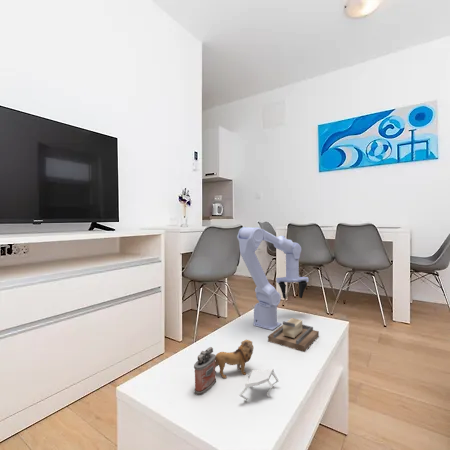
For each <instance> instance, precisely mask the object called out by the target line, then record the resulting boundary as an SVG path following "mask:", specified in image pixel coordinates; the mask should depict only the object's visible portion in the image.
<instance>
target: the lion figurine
mask: <svg viewBox="0 0 450 450" xmlns="http://www.w3.org/2000/svg"><path fill="white" fill-rule="evenodd" d="M240 343H241V344H240V346H238V348H237V349H236V350H235V351H232V352H231V351H230V352H226V351H219V352H217V353H216V354H215V355H216V359H215V369H216V368H217V367H219V374H220V376H221V377H222V378H223V379H227V378H228V377H227V374H224V369H225V367H226V364H227V365H229V366H236V370H237V371H238V372H239V371H240V372H241V375H243V376H245V375H246V374H247V371H245V369H246V368H245V367H246V364H247V362H249V361H251V358H252V356H253V353H254V345H253V341H251V340H250V339H245V340H242V341H241V342H240ZM216 374H217V371H216V370H215V375H216Z"/></svg>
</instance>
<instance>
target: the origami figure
mask: <svg viewBox="0 0 450 450" xmlns="http://www.w3.org/2000/svg"><path fill="white" fill-rule="evenodd" d="M274 371H275V370H274V368H273V369H272V368H271V369H258V370H257V369H256V370H254V369H251V372H250V373H249V374H248V375H247V378H248V381H247V382H246V383H245V387H244V388H243V390H242V392H240V394H238V395H239V397H241V398H243V399H244V400H243V402H246V401H248V400H249V398H248V397H246V396H244V395H243V394H244V393H245V392H246V391H247V389H249V387H250V388H254V387H255V386H260V385H262V384H265V383H266V382H267V384H268V385H269V389H268V391H267V393H266V395H267V398H270V393H269V392H270V391H271V390H272V389H276V387H275V386H274V385H276V384H277V383H278V382H279V381H280V380H279V378H278V376H277V375H276V373H275V372H274ZM272 376H273V378H274V379H275V382H273V383H272V382H271V381H270V379H271V377H272Z"/></svg>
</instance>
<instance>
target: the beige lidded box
mask: <svg viewBox="0 0 450 450" xmlns="http://www.w3.org/2000/svg"><path fill="white" fill-rule="evenodd" d="M282 325H283V335H284V336H288V337H292V338H295V337H296V336H297V335H298V334H299V333H301V332H302V325H303V320H302V319H299V318H292V317H291V318H289V320H287V321H285V320H284V321H282Z"/></svg>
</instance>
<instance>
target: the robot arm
mask: <svg viewBox="0 0 450 450" xmlns="http://www.w3.org/2000/svg"><path fill="white" fill-rule="evenodd" d="M237 233H238V234H237V236H236V239H237V240H238V241H237V242H238V243H239V245H238V246H239V253H240V256H241V258H242V260H243V262H244V264H245V266H246V268H247V270H248V272H249V274H250V276H251V279H252V280H253V282H254V284H255V286H256V287H254V288H255V289H254V291H255V297H256V300H257V301H258V302H256V303H255V305H254V308H253V324H252V325H253V326H255V327H259V328H263V329H267V330H270V331H273V330H274V331H275V329H276V328H277V327H278V328H279V326H281V325H282V323H281V322H278V307H279V305H280V302H281V300H282V299H281V298H283V299H284V300H286V298H287V295H286V292H287V291H286V290H287V284H286V283H298V296H299V298H300V299H303V296H304V291H305V289H306V287H307V286H308V283H309V280H310V279H309V277H307V276H300V273H299V272H300V270H299V269H300V268H299V267H300V266H299V265H300V263H299V262H300V261H299V260H300V258H301V253H302V249H303V248H302V247H301V245H300V243H298V242H295V241H294V242H293V239H288V238H286V236H285V235H279V236H276V235H274V234H273V233H270V232H269V231H267V230H265V229H264V228H261V227H258V226H257V227H248V226H243V227H241V228H240V229H239V230H238V232H237ZM262 241H266V242H267V243H270V244H273V247H274V248H275V249H277V250H279V251H281V252H283V254H285V276H282V277H275V278H276V279H275V280H276V282H275V283H277V284H278V286H279V287H280V291H281V293H282V294H280V292H279V291H277V289H276V288H275V287H274V285H272V284H271V283H270V282H269V280H268V277H267V275H266V274H265V271H264V269H263V267H262V265H261V263H260V260H259V259H258V257H257V255H256V251H257V250H258V248H259V246H260V245H261V243H262Z"/></svg>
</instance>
